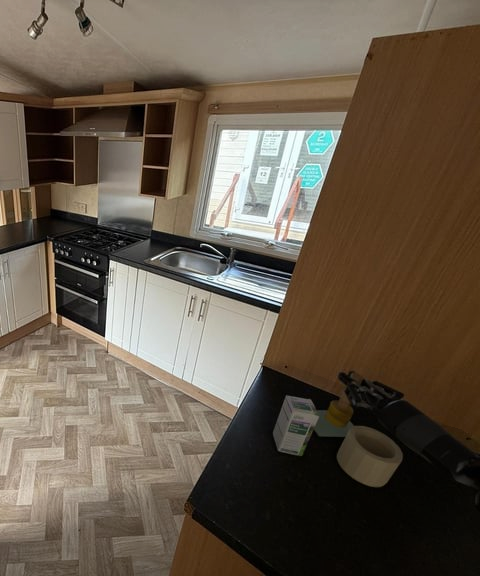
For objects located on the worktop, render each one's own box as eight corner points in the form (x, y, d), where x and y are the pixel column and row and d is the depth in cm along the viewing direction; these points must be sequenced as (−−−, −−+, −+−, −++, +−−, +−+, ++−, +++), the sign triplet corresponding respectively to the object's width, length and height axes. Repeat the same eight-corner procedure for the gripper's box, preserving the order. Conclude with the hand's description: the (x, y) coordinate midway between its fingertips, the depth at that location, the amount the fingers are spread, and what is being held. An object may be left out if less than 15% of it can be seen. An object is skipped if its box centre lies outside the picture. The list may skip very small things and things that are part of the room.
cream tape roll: (365, 450, 81) (379, 426, 77) (397, 488, 72) (414, 463, 68) (327, 449, 81) (339, 425, 77) (354, 487, 73) (369, 462, 69)
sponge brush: (338, 413, 88) (360, 369, 81) (351, 428, 84) (375, 382, 77) (321, 412, 88) (341, 368, 81) (332, 427, 84) (354, 382, 77)
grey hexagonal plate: (340, 411, 92) (341, 410, 92) (363, 438, 84) (363, 437, 84) (299, 410, 93) (300, 409, 92) (318, 437, 85) (319, 436, 84)
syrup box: (277, 452, 80) (293, 412, 74) (271, 433, 86) (286, 394, 79) (302, 457, 79) (320, 416, 73) (294, 437, 84) (311, 398, 78)
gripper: (448, 411, 67) (372, 360, 82) (393, 419, 65) (326, 365, 80) (431, 436, 70) (361, 381, 85) (378, 444, 68) (316, 387, 83)
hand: (344, 374), depth 83 cm, fingers closed on sponge brush, 2 cm apart
